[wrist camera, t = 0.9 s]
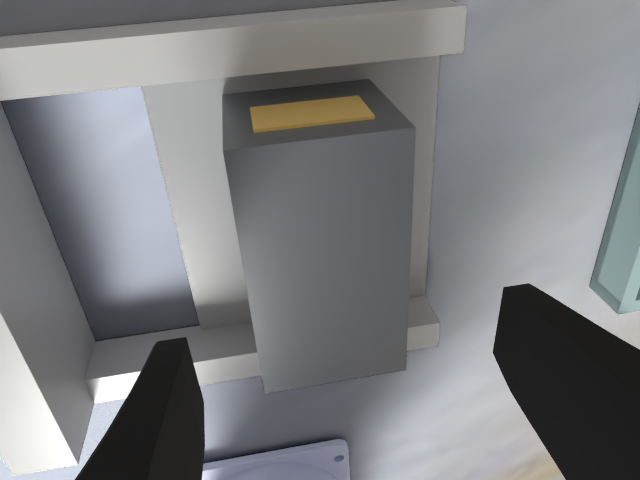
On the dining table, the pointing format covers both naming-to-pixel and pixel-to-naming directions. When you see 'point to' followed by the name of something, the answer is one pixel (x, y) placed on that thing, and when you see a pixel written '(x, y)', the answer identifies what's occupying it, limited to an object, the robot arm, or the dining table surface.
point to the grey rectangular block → (322, 228)
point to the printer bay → (186, 191)
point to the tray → (622, 238)
